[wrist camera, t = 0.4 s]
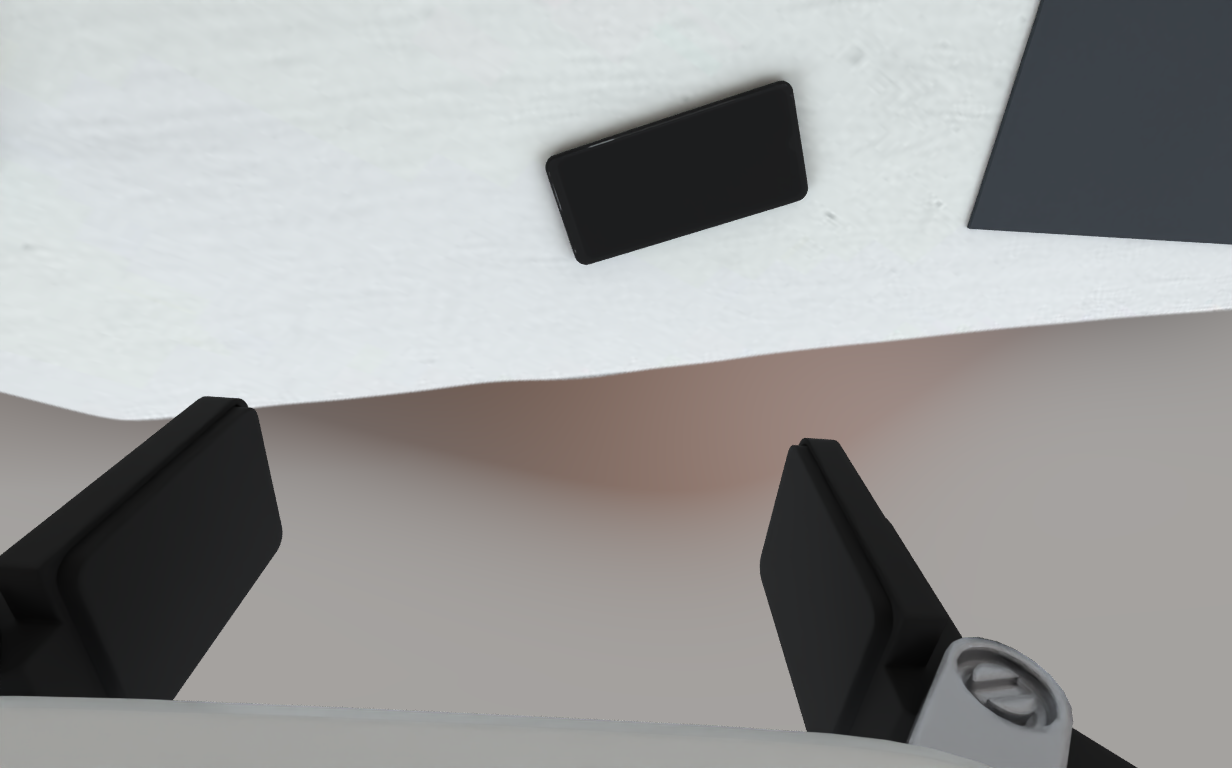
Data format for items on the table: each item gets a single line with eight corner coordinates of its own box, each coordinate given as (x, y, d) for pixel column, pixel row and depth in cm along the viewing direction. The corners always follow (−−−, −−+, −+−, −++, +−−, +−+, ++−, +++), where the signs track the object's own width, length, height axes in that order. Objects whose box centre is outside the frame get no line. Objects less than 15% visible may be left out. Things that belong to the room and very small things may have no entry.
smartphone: (541, 159, 36) (792, 77, 34) (542, 158, 36) (788, 77, 34) (578, 268, 39) (811, 198, 37) (579, 265, 39) (807, 196, 37)
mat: (1100, -182, 30) (1104, -184, 29) (1447, -153, 30) (1455, -155, 30) (966, 227, 39) (969, 228, 38) (1236, 243, 39) (1240, 245, 39)
